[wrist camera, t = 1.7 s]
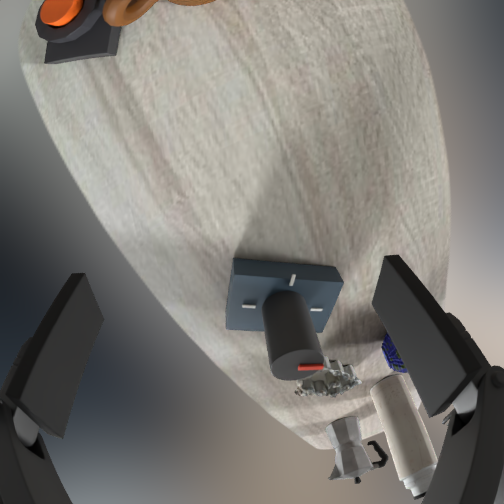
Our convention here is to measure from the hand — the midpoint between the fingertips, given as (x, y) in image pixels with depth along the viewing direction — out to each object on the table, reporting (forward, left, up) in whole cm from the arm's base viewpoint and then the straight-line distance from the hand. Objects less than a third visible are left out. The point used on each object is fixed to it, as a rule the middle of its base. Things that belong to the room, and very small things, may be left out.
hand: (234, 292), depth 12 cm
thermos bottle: (+37, -38, -17) cm, 56 cm away
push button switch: (-16, +16, -17) cm, 28 cm away
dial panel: (+7, -13, -17) cm, 22 cm away
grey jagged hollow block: (+19, -30, -17) cm, 39 cm away
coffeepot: (+35, -56, -17) cm, 68 cm away
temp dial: (+7, -13, -14) cm, 20 cm away
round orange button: (-17, +16, -13) cm, 27 cm away
